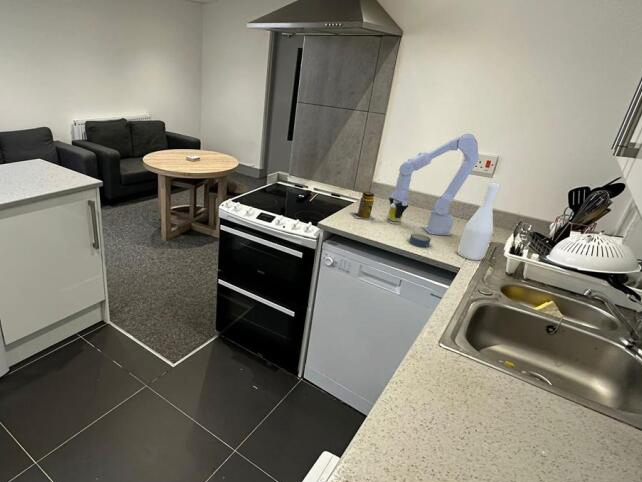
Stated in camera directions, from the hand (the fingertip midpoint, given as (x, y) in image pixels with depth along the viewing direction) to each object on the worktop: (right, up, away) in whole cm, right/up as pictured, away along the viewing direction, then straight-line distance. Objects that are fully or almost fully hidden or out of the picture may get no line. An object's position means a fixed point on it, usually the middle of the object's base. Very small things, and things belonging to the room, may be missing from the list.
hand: (395, 215), depth 187 cm
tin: (+2, -13, -22) cm, 25 cm away
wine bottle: (+18, -18, -29) cm, 39 cm away
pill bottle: (0, -3, +1) cm, 4 cm away
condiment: (-14, 0, +6) cm, 15 cm away
